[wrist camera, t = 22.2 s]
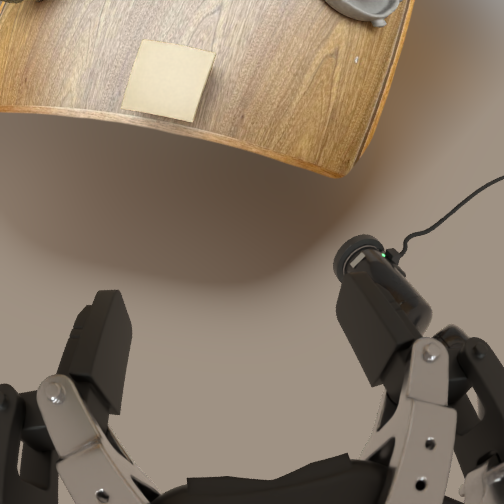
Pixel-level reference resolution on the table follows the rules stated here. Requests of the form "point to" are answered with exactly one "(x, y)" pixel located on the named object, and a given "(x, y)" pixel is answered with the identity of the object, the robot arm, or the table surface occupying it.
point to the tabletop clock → (16, 1)
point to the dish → (366, 9)
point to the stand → (168, 80)
